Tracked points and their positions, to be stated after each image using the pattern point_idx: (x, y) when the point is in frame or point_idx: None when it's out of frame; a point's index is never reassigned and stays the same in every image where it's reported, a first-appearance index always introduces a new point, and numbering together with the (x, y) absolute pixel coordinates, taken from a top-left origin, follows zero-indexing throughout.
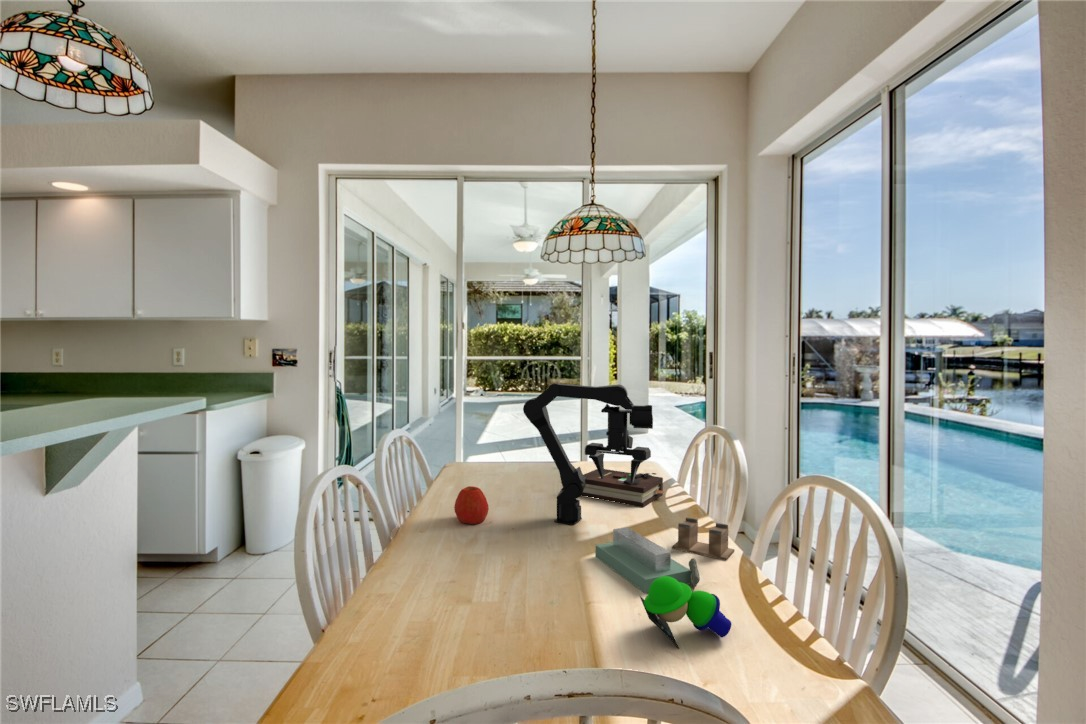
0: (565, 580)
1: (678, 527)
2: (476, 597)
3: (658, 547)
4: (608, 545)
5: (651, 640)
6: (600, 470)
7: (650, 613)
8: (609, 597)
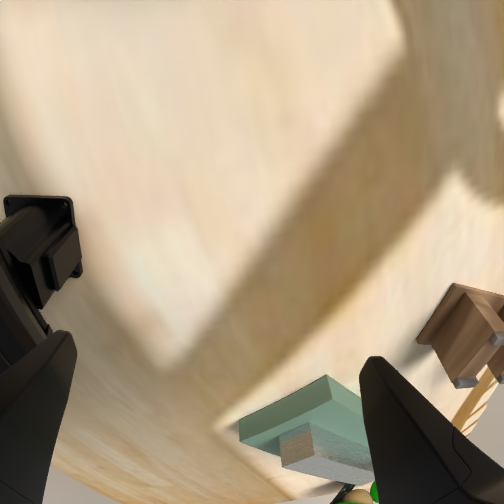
0: (222, 464)
1: (451, 381)
2: (149, 483)
3: (370, 475)
4: (268, 438)
5: (335, 485)
6: (53, 437)
7: (338, 501)
8: (291, 471)
